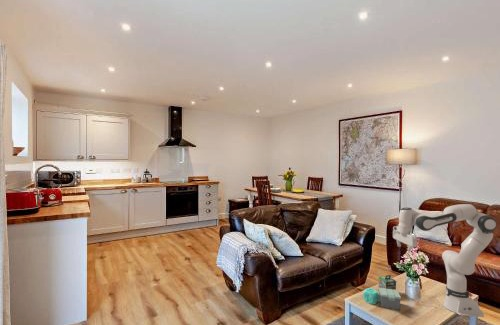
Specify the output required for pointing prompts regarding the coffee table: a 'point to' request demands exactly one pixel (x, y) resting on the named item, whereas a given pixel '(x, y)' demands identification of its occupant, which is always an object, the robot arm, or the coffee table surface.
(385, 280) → the chalk box
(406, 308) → the coffee table surface
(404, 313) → the coffee table surface
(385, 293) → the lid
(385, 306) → the tub
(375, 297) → the decorative dice
